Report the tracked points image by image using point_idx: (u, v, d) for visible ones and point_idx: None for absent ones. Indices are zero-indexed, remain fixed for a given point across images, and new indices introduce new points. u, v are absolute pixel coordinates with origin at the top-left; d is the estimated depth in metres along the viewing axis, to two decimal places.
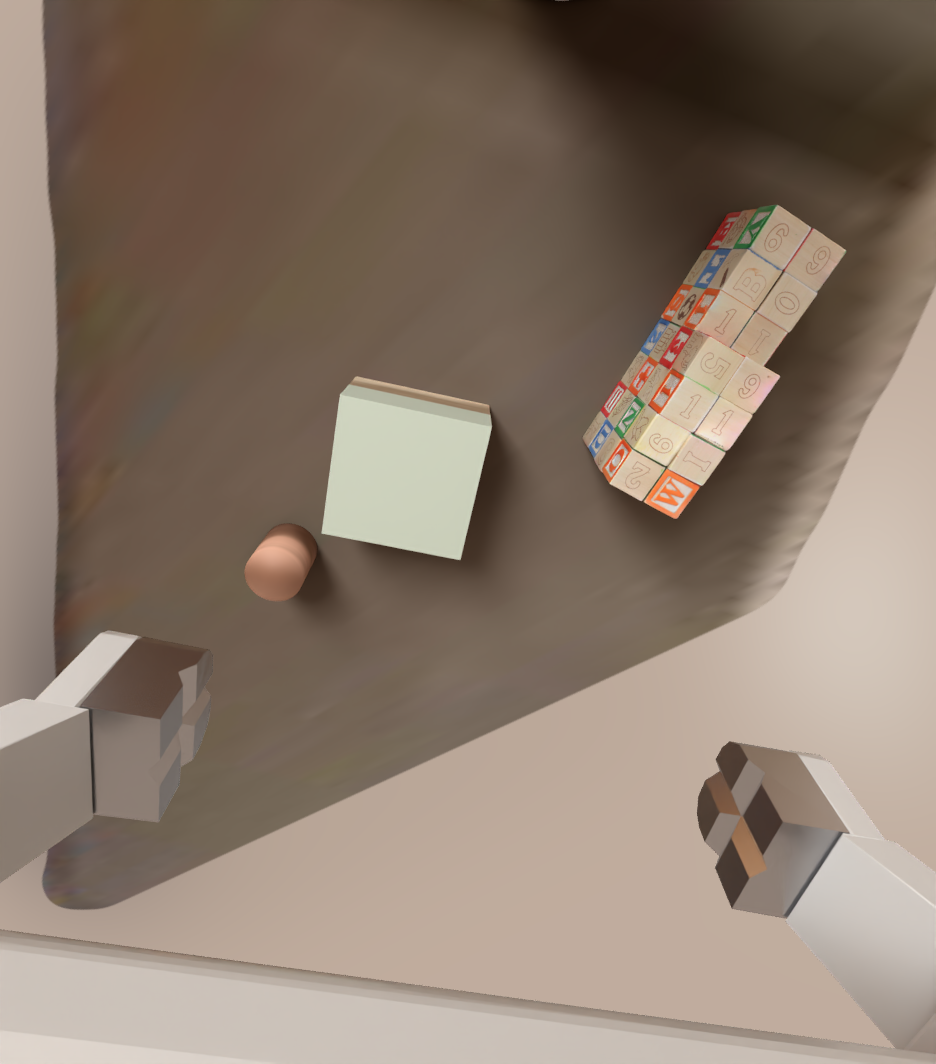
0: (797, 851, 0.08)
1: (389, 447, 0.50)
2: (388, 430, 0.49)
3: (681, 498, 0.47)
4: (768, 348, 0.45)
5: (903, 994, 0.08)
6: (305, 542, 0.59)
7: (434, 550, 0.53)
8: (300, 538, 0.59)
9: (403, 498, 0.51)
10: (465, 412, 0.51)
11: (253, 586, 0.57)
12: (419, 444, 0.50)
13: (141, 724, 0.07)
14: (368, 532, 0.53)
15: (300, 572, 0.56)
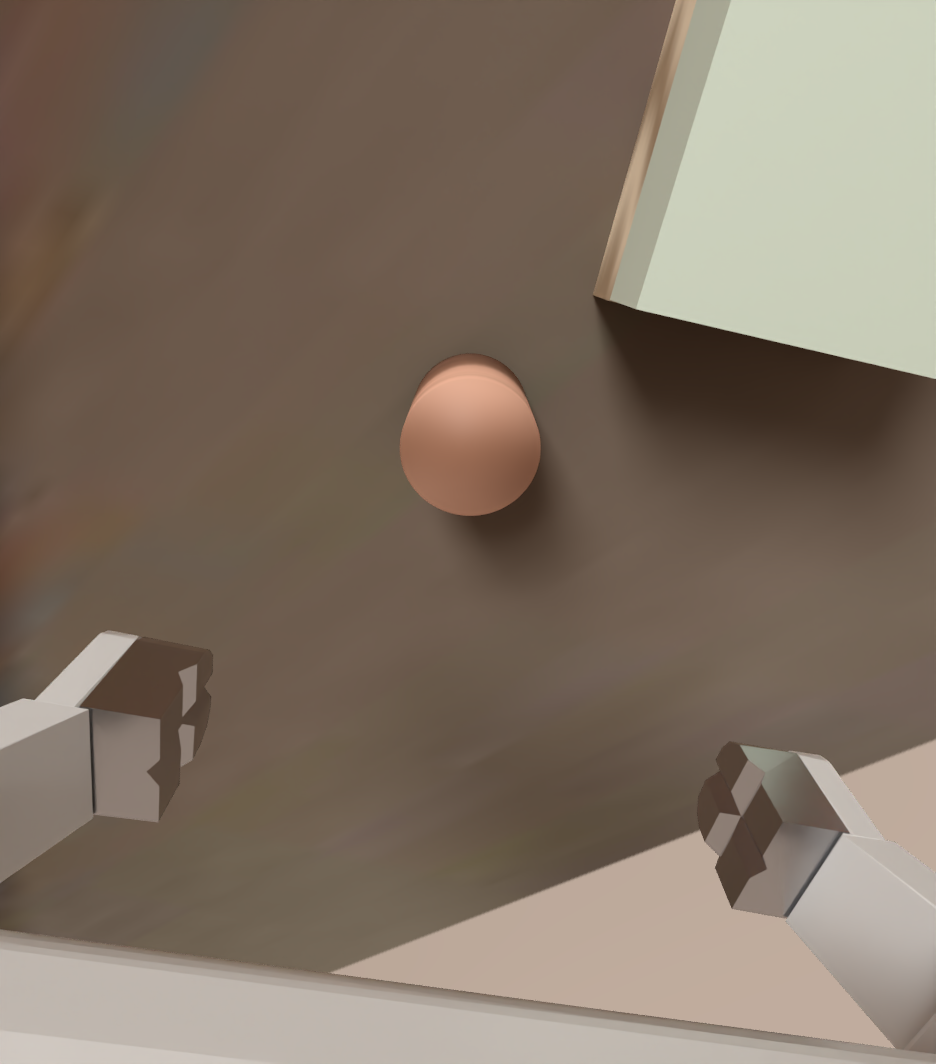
0: (797, 851, 0.08)
1: (900, 5, 0.16)
2: None
3: None
4: None
5: (903, 994, 0.08)
6: (521, 388, 0.26)
7: (923, 361, 0.20)
8: (510, 376, 0.26)
9: (890, 193, 0.18)
10: None
11: (418, 478, 0.23)
12: None
13: (141, 724, 0.07)
14: (761, 308, 0.19)
15: (538, 439, 0.23)
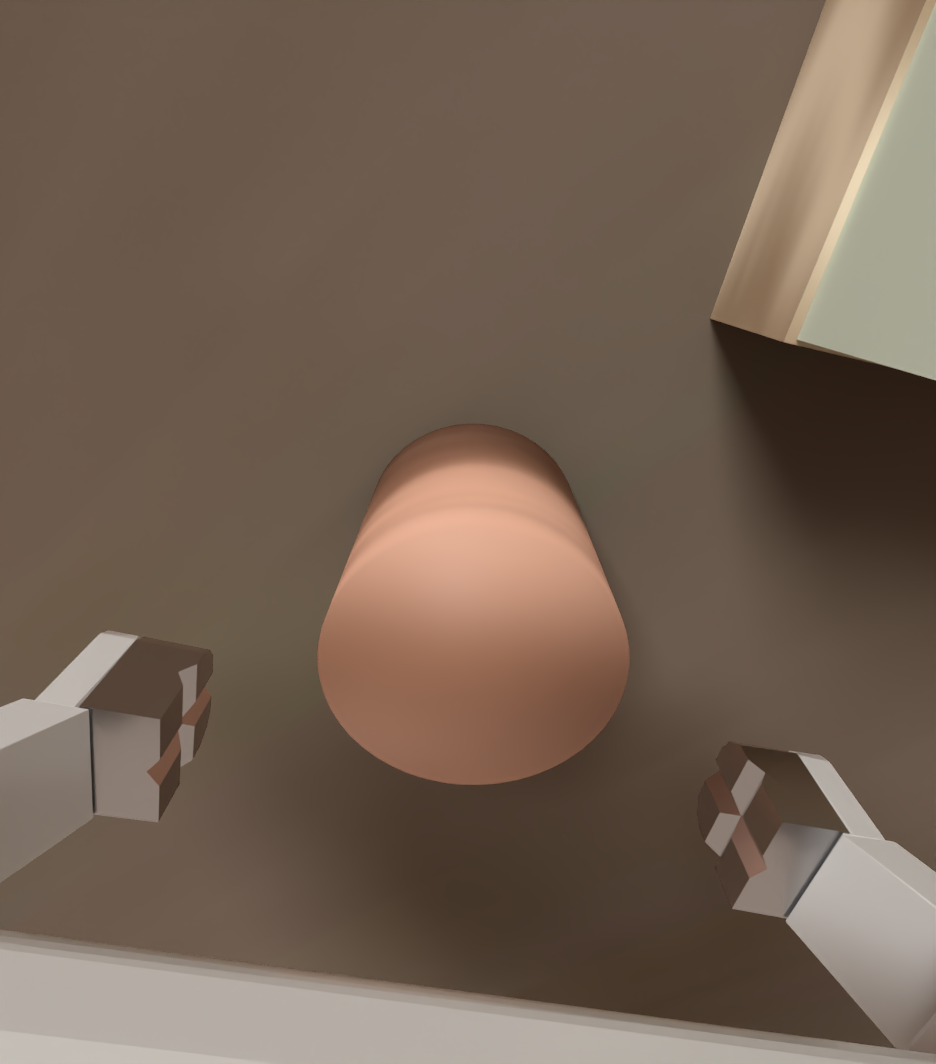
0: (797, 851, 0.08)
1: None
2: None
3: None
4: None
5: (903, 994, 0.08)
6: (572, 501, 0.13)
7: None
8: (552, 480, 0.13)
9: None
10: None
11: (360, 720, 0.11)
12: None
13: (141, 724, 0.07)
14: None
15: (624, 651, 0.10)
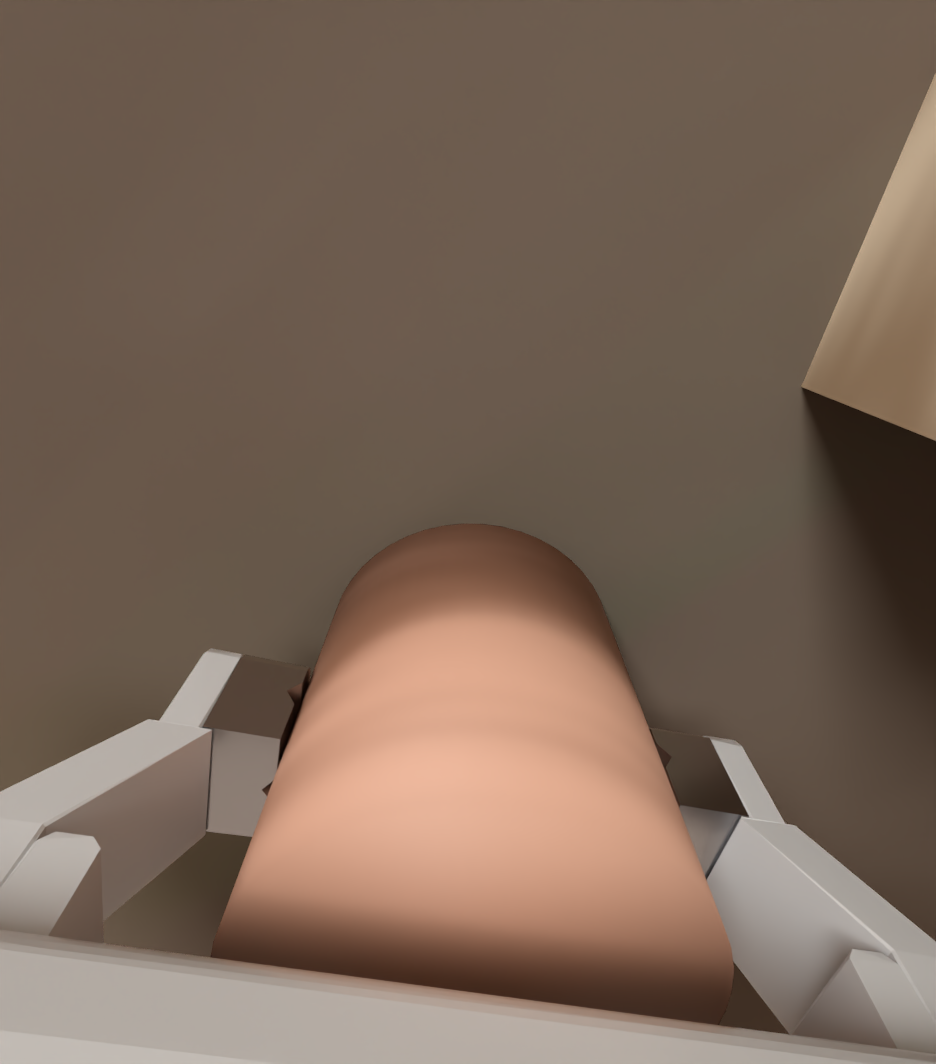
0: (697, 835, 0.08)
1: None
2: None
3: None
4: None
5: (795, 979, 0.07)
6: (613, 648, 0.09)
7: None
8: (586, 622, 0.09)
9: None
10: None
11: None
12: None
13: (261, 744, 0.08)
14: None
15: (725, 972, 0.06)
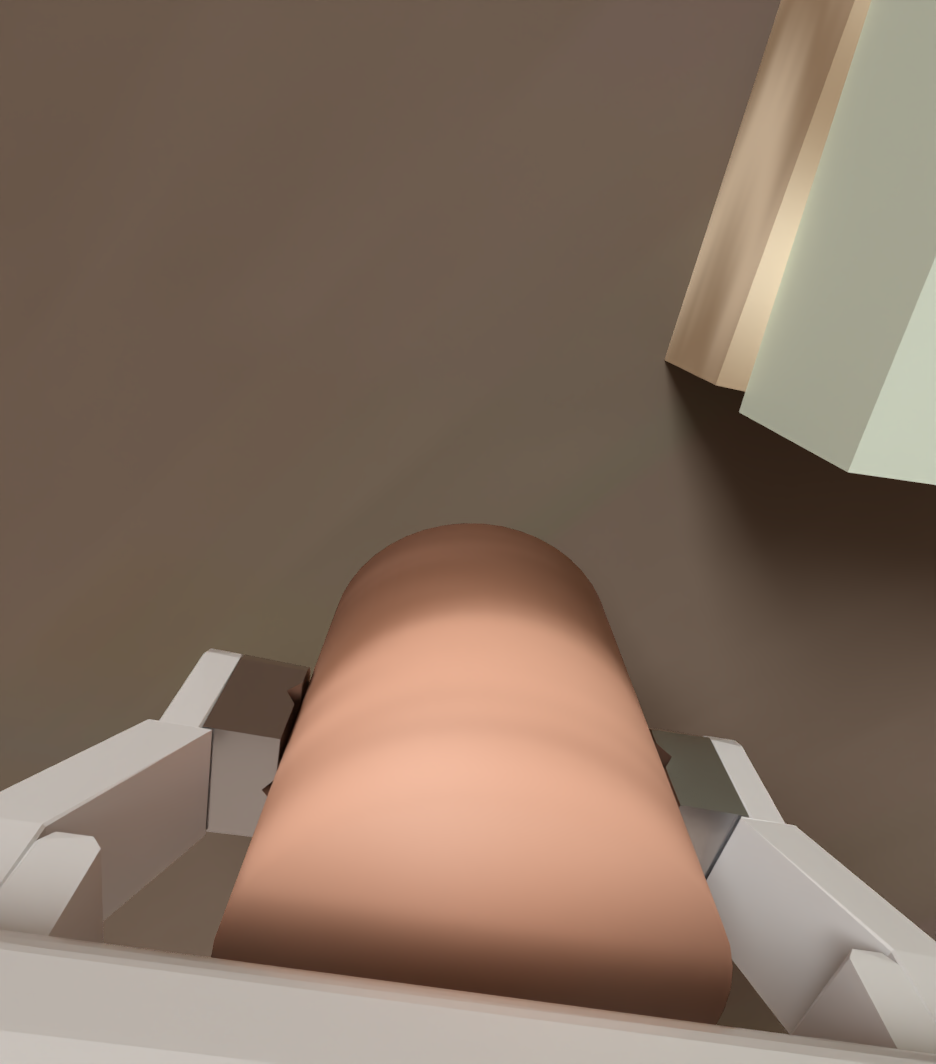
0: (697, 835, 0.08)
1: None
2: None
3: None
4: None
5: (795, 979, 0.07)
6: (614, 647, 0.09)
7: None
8: (585, 621, 0.09)
9: None
10: None
11: None
12: None
13: (261, 744, 0.08)
14: None
15: (724, 968, 0.06)
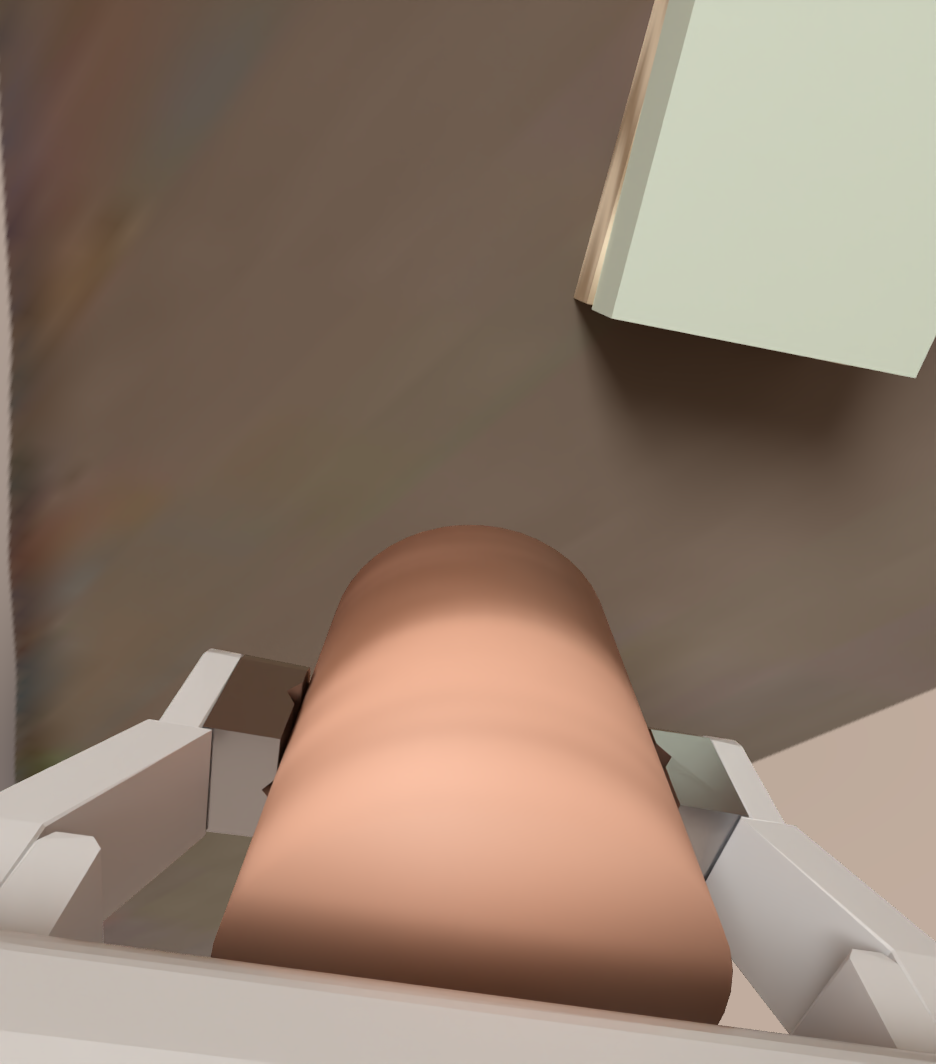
0: (697, 835, 0.08)
1: (820, 61, 0.20)
2: (829, 6, 0.19)
3: None
4: None
5: (795, 979, 0.07)
6: (613, 649, 0.09)
7: (862, 355, 0.23)
8: (585, 623, 0.09)
9: (823, 214, 0.21)
10: None
11: None
12: (899, 48, 0.20)
13: (261, 744, 0.08)
14: (719, 314, 0.23)
15: (725, 972, 0.06)
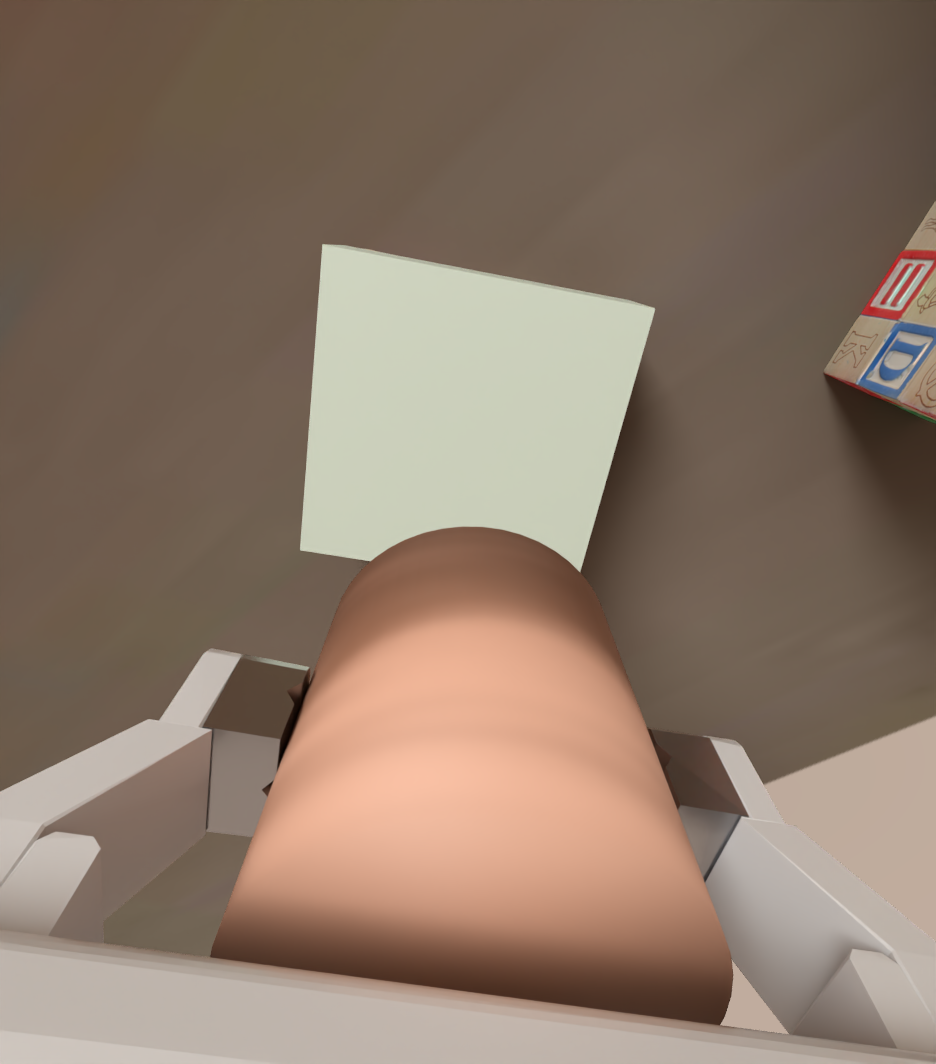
0: (697, 835, 0.08)
1: (433, 363, 0.23)
2: (430, 325, 0.23)
3: None
4: None
5: (795, 979, 0.07)
6: (613, 652, 0.09)
7: None
8: (586, 625, 0.09)
9: (463, 473, 0.25)
10: (584, 292, 0.25)
11: None
12: (497, 354, 0.23)
13: (261, 744, 0.08)
14: None
15: (725, 977, 0.06)
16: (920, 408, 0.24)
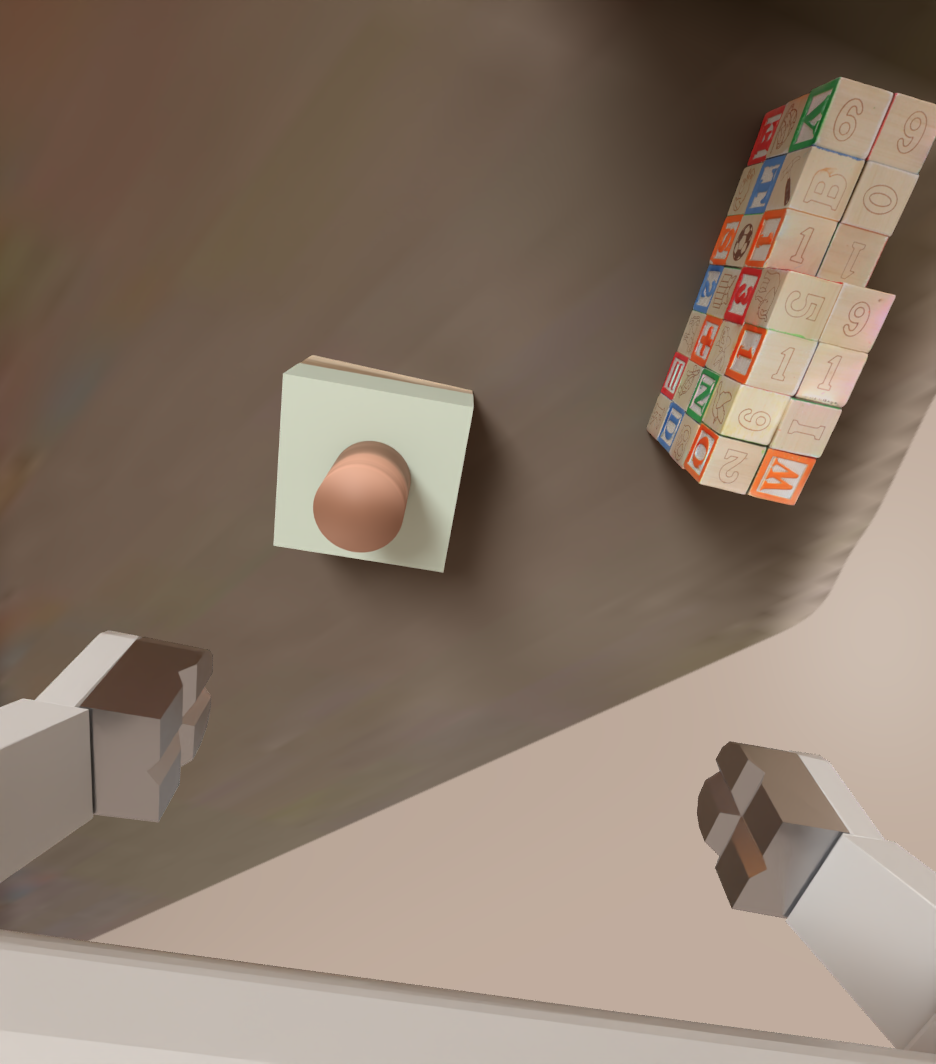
0: (797, 851, 0.08)
1: (348, 437, 0.40)
2: (346, 416, 0.40)
3: (795, 479, 0.37)
4: (866, 264, 0.35)
5: (903, 994, 0.08)
6: (401, 468, 0.39)
7: (411, 561, 0.44)
8: (393, 460, 0.39)
9: None
10: (442, 392, 0.42)
11: (325, 527, 0.36)
12: (385, 432, 0.40)
13: (141, 723, 0.07)
14: (329, 543, 0.43)
15: (401, 506, 0.36)
16: (675, 460, 0.41)
